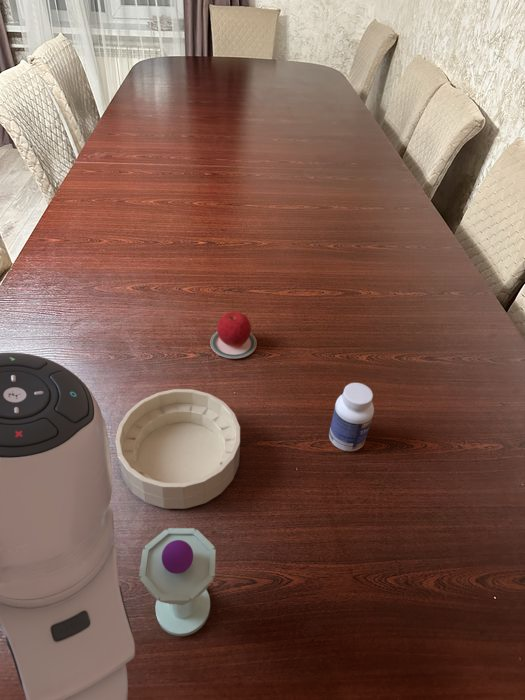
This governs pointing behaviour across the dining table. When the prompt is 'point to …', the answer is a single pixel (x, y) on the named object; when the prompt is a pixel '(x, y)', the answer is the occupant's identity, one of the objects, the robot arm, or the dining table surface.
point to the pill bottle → (352, 417)
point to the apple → (233, 337)
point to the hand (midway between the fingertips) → (63, 628)
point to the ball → (177, 556)
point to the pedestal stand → (179, 582)
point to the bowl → (178, 448)
